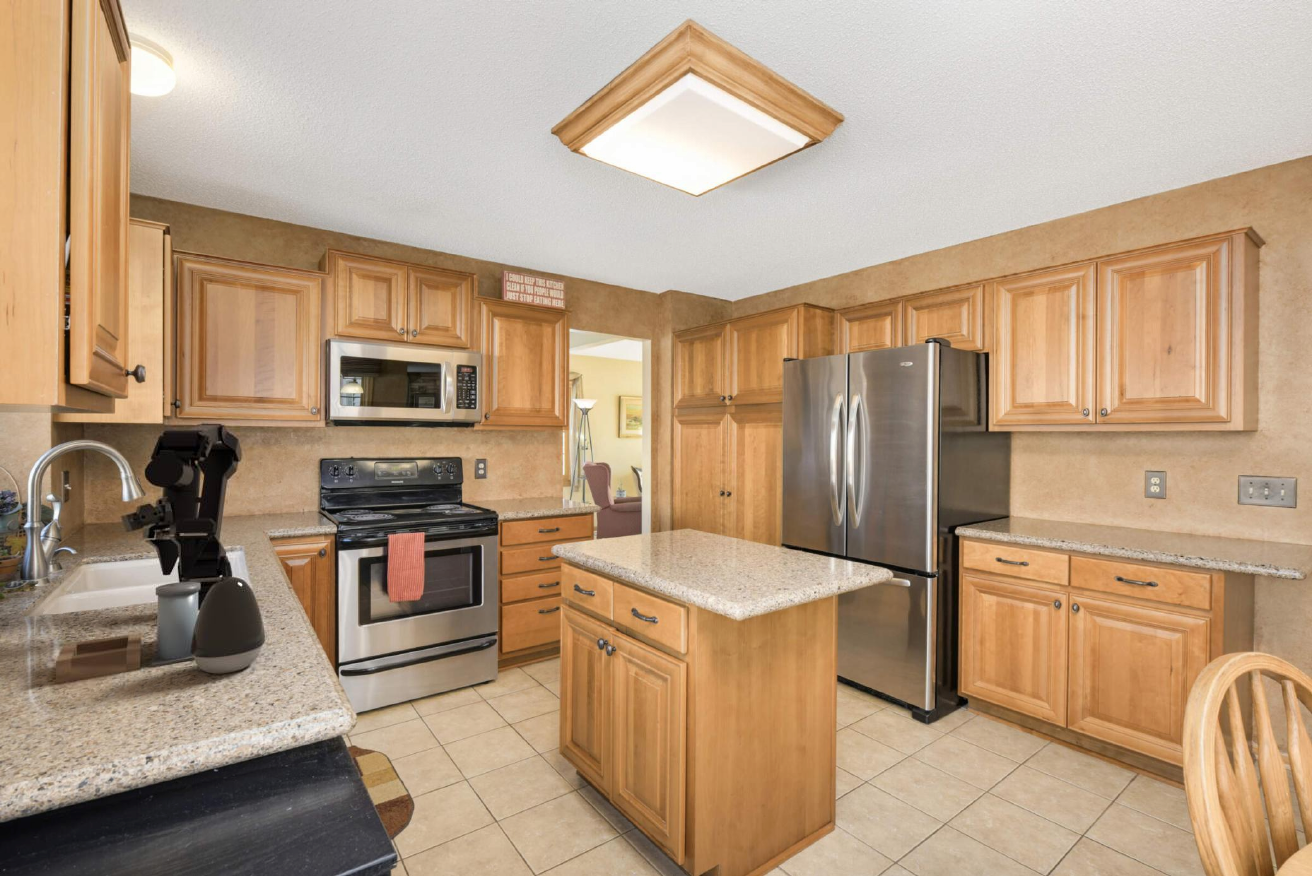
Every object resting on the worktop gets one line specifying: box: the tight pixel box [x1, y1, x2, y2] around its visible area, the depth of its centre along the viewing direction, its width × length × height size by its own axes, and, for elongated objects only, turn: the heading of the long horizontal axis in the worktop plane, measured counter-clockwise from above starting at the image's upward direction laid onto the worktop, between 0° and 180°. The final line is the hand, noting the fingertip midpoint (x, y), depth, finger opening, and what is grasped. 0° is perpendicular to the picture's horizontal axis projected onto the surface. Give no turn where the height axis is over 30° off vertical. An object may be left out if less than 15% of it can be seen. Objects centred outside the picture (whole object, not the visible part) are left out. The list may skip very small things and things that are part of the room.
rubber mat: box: [151, 651, 195, 668], centre depth 108 cm, size 7×7×1 cm
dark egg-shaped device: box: [191, 576, 266, 675], centre depth 103 cm, size 10×10×15 cm
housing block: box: [55, 632, 142, 685], centre depth 103 cm, size 10×10×4 cm
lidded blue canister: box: [155, 581, 200, 660], centre depth 108 cm, size 6×6×12 cm
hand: (175, 574), depth 117 cm, fingers open, 9 cm apart
